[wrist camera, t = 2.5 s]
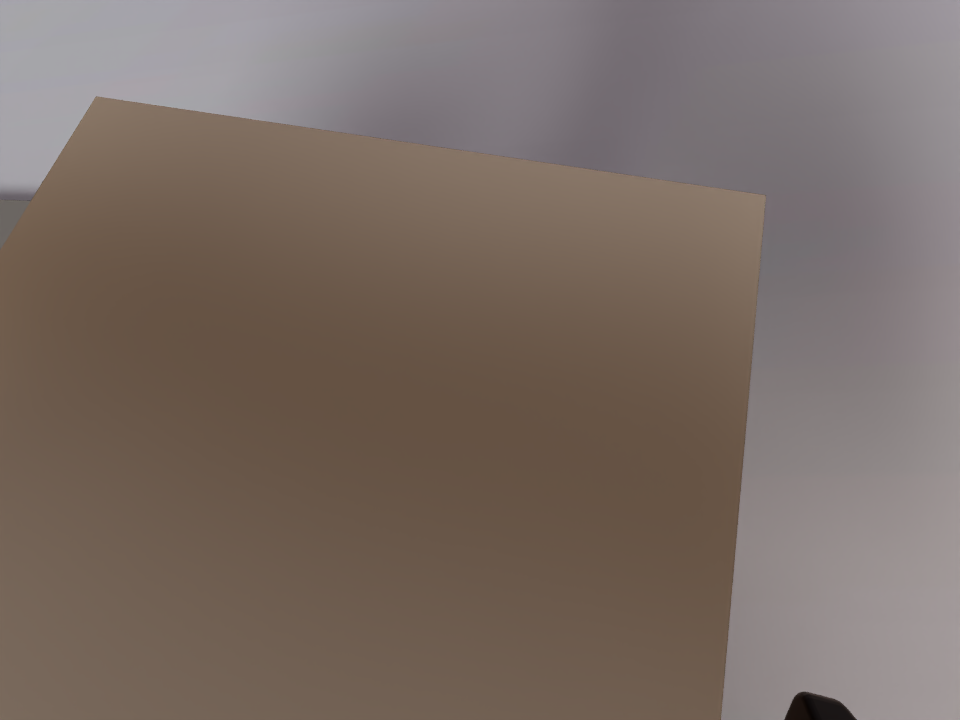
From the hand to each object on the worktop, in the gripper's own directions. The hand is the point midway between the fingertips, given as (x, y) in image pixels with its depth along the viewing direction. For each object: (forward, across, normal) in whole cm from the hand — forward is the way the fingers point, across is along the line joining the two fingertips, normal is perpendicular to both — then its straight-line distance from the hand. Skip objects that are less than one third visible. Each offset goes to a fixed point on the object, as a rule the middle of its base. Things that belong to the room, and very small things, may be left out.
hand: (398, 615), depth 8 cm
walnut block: (+6, 0, +6) cm, 8 cm away
